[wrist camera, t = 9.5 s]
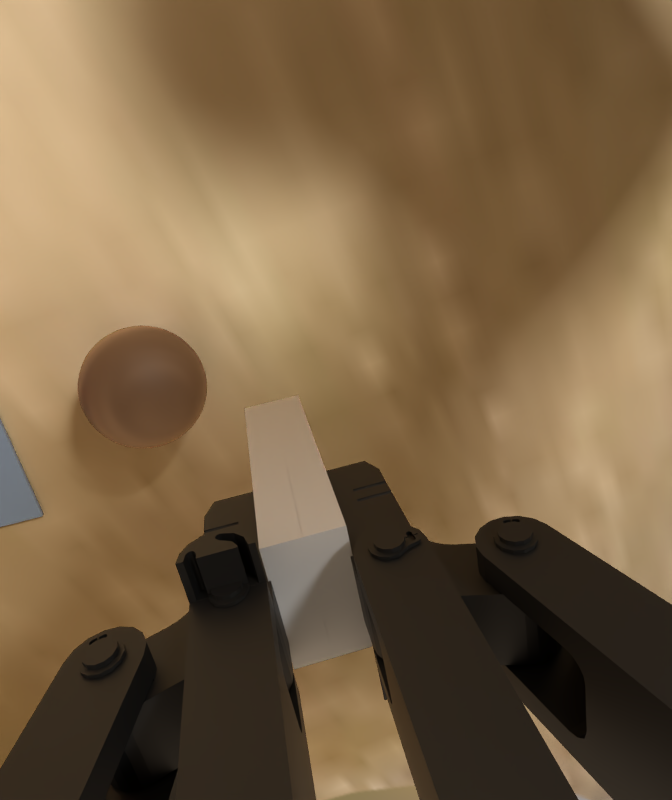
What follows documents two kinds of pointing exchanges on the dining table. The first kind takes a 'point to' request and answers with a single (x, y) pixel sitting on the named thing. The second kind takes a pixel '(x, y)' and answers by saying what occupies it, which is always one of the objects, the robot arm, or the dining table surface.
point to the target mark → (14, 486)
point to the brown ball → (142, 387)
